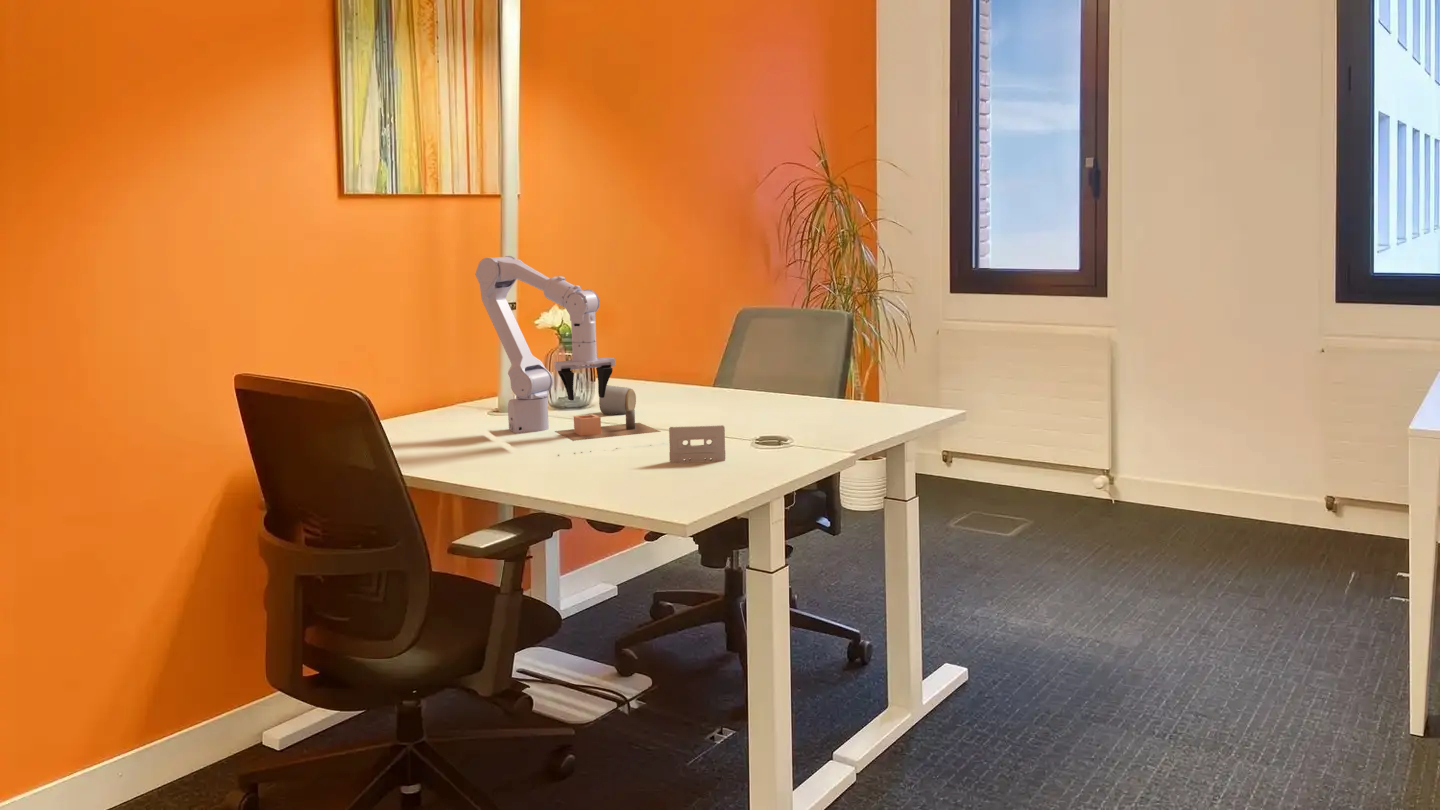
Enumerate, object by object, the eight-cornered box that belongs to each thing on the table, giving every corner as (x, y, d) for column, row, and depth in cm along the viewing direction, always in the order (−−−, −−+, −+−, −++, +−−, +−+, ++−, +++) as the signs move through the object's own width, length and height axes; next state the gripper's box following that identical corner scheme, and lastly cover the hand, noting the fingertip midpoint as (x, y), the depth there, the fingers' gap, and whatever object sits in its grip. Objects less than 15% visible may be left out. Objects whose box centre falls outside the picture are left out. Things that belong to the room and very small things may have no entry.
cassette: (669, 463, 263) (668, 428, 262) (669, 461, 265) (668, 426, 264) (725, 461, 264) (725, 426, 263) (725, 459, 266) (724, 424, 265)
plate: (573, 444, 286) (572, 421, 285) (554, 435, 298) (553, 412, 297) (660, 435, 295) (660, 412, 294) (639, 426, 307) (638, 404, 306)
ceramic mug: (627, 416, 322) (627, 387, 321) (598, 415, 324) (598, 386, 323) (642, 410, 332) (641, 382, 331) (613, 410, 334) (613, 381, 333)
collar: (581, 435, 291) (580, 419, 290) (574, 432, 295) (573, 416, 295) (601, 433, 293) (600, 417, 292) (594, 430, 297) (593, 414, 297)
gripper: (559, 345, 284) (562, 403, 286) (618, 341, 290) (620, 398, 292) (550, 342, 290) (553, 399, 293) (608, 338, 296) (610, 394, 299)
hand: (586, 398), depth 293 cm, fingers open, 7 cm apart
